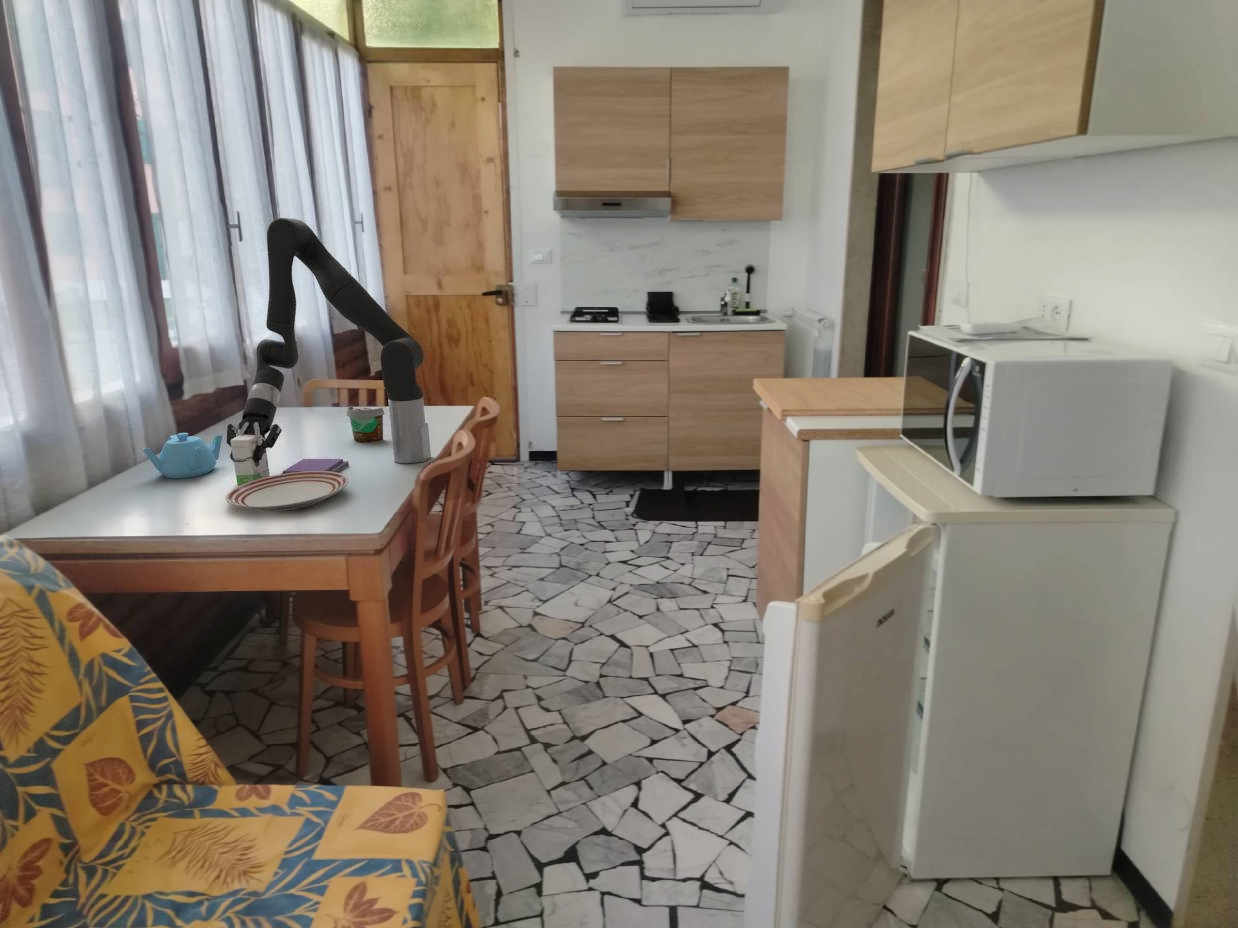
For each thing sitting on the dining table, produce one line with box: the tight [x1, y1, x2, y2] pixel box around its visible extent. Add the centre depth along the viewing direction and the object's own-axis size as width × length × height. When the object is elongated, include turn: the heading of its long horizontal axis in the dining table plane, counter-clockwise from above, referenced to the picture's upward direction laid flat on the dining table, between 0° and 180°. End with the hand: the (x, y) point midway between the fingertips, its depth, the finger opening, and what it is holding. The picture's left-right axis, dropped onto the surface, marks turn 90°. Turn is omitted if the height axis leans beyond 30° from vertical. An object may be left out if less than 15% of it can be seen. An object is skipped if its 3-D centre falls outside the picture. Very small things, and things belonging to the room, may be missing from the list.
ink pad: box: [280, 458, 350, 474], centre depth 220 cm, size 13×14×2 cm
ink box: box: [230, 435, 271, 486], centre depth 213 cm, size 9×5×12 cm, turn 177°
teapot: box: [142, 432, 223, 479], centre depth 222 cm, size 15×15×11 cm
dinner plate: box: [225, 471, 349, 512], centre depth 199 cm, size 28×27×3 cm
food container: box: [346, 405, 385, 444], centre depth 251 cm, size 12×6×10 cm, turn 68°
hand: (244, 460), depth 210 cm, fingers closed on ink box, 5 cm apart
